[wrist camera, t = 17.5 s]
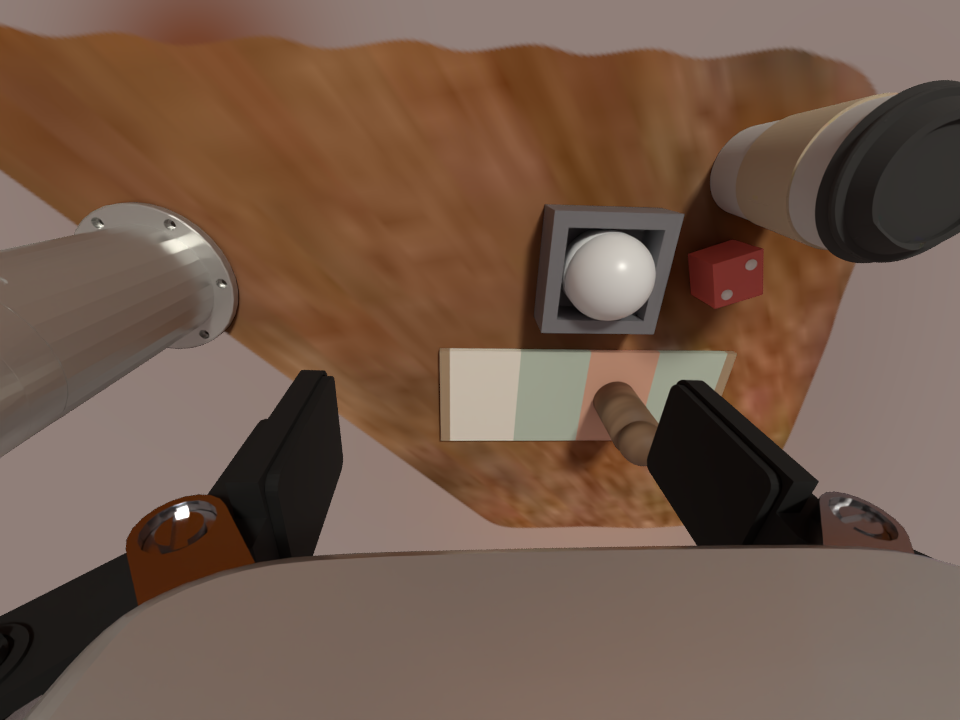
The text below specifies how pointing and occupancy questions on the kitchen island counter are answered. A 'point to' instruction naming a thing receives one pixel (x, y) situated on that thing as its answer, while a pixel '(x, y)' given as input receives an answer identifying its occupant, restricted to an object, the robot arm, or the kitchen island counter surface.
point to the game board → (557, 388)
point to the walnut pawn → (626, 420)
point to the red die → (726, 273)
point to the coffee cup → (852, 174)
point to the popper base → (639, 222)
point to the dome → (607, 274)
